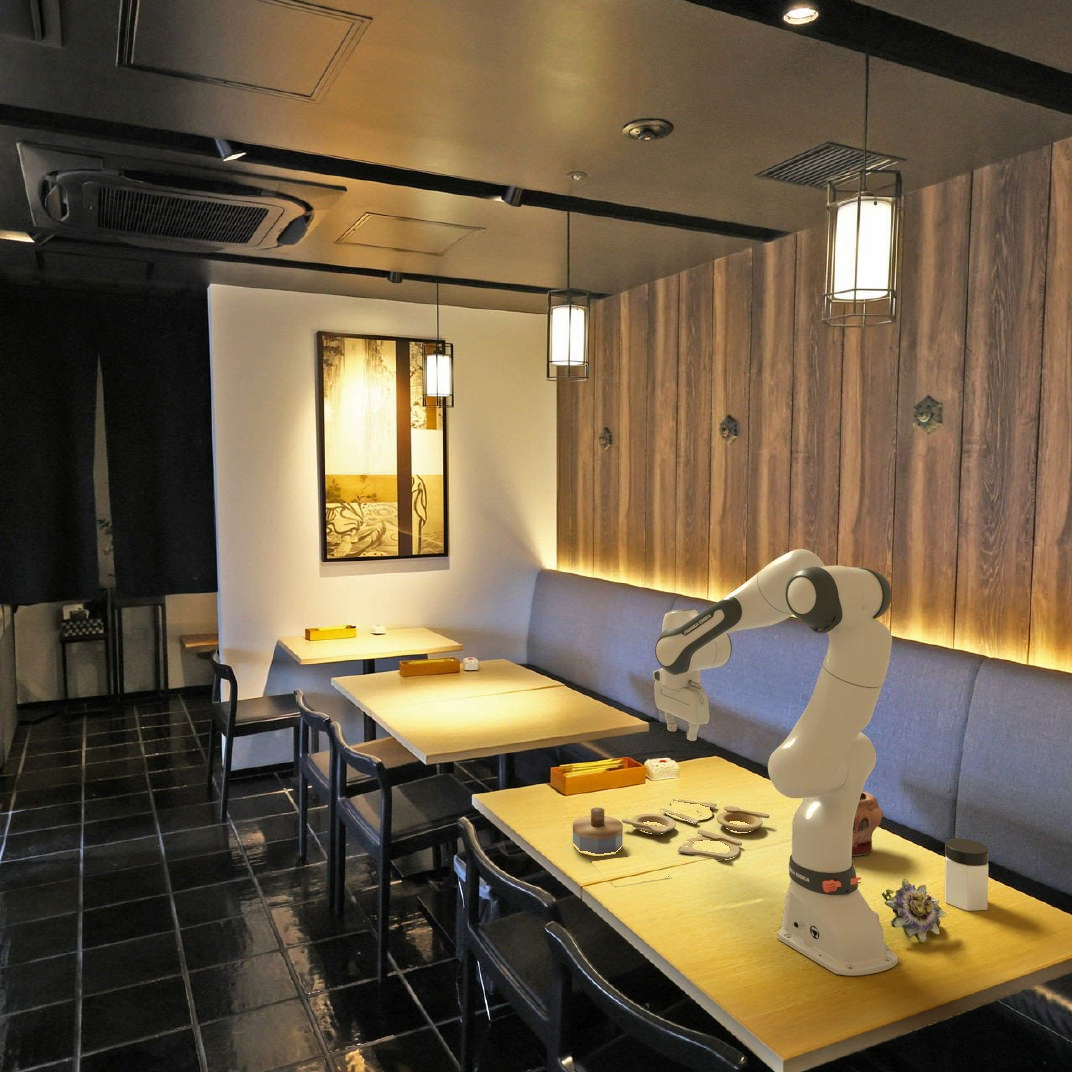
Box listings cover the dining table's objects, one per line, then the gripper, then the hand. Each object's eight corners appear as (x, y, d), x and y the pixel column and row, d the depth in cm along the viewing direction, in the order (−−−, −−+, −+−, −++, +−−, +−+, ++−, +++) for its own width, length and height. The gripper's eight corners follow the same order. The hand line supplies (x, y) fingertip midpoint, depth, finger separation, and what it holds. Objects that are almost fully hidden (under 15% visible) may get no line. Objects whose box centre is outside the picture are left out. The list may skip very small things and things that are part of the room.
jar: (973, 892, 183) (975, 837, 183) (997, 910, 175) (999, 852, 175) (934, 894, 183) (935, 838, 182) (956, 912, 174) (958, 854, 174)
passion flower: (920, 968, 163) (899, 929, 159) (881, 931, 173) (860, 893, 169) (964, 931, 165) (944, 891, 160) (923, 896, 175) (903, 858, 171)
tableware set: (722, 871, 195) (722, 853, 194) (612, 840, 212) (612, 824, 212) (779, 824, 222) (779, 809, 222) (678, 801, 240) (679, 786, 240)
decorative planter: (825, 866, 196) (826, 807, 195) (792, 846, 207) (793, 790, 207) (895, 855, 203) (896, 797, 202) (859, 835, 214) (860, 781, 214)
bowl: (628, 855, 202) (628, 835, 202) (584, 862, 198) (584, 841, 198) (609, 838, 212) (609, 818, 212) (568, 844, 209) (568, 823, 208)
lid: (631, 835, 201) (631, 815, 201) (584, 842, 197) (584, 821, 197) (610, 817, 213) (610, 798, 212) (565, 823, 209) (565, 804, 208)
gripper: (716, 683, 193) (716, 744, 193) (672, 669, 212) (673, 724, 212) (691, 686, 191) (692, 747, 191) (649, 671, 210) (650, 727, 210)
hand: (681, 735), depth 202 cm, fingers open, 8 cm apart
